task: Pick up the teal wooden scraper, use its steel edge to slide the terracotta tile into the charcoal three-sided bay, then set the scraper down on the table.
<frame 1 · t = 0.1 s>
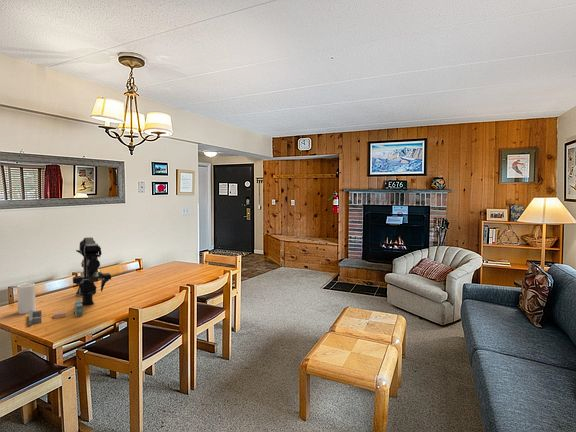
hand: (92, 292, 195), 15 cm above the table, tool pointing down, fingers open, 9 cm apart
stop bay: (37, 319, 191), on the table
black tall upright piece: (87, 293, 240), on the table
cup: (26, 311, 202), on the table
scraper: (78, 313, 203), on the table
tile: (59, 316, 197), on the table
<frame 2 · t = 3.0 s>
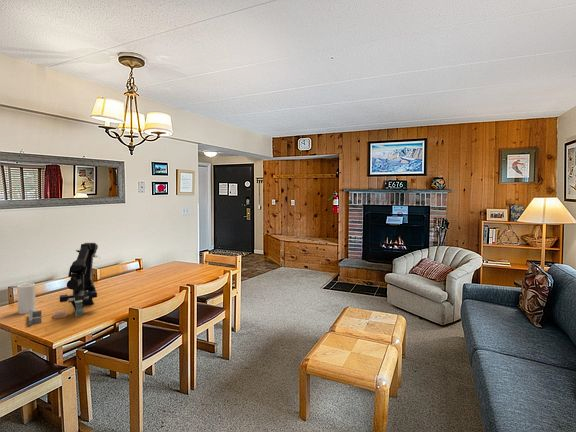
hand: (78, 310, 202), 2 cm above the table, tool pointing down, fingers closed on scraper, 3 cm apart
scraper: (78, 312, 203), on the table, touching gripper
everything else where it was.
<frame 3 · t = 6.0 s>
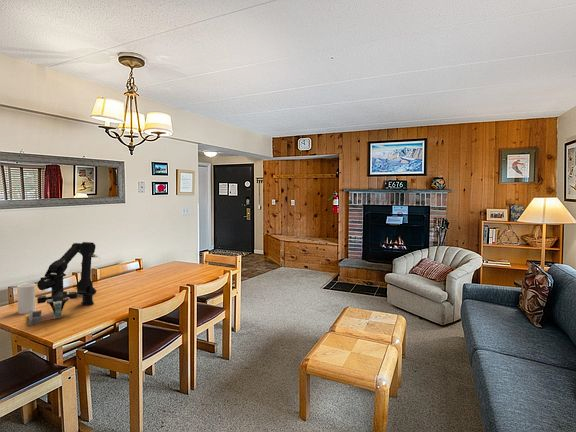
hand: (57, 311, 196), 3 cm above the table, tool pointing down, fingers closed on scraper, 3 cm apart
scraper: (57, 314, 196), point 1 cm above the table, touching gripper
tile: (47, 318, 194), on the table
everything else where it was.
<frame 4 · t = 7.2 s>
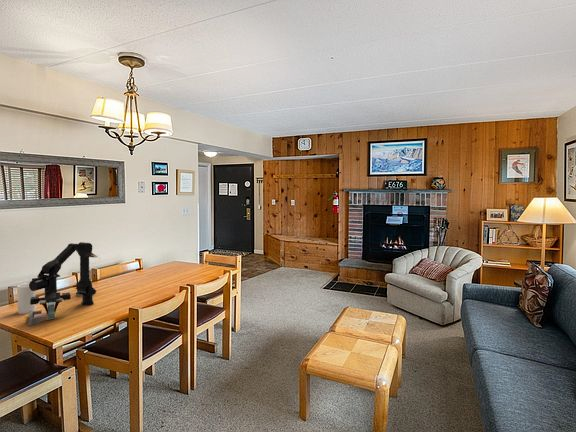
hand: (51, 313, 194), 2 cm above the table, tool pointing down, fingers closed on scraper, 3 cm apart
scraper: (51, 315, 195), point 1 cm above the table, touching gripper
tile: (40, 319, 192), on the table
everything else where it was.
when the fingers open (2 cm above the table, at t = 11.4 s): scraper drops 1 cm, on the table.
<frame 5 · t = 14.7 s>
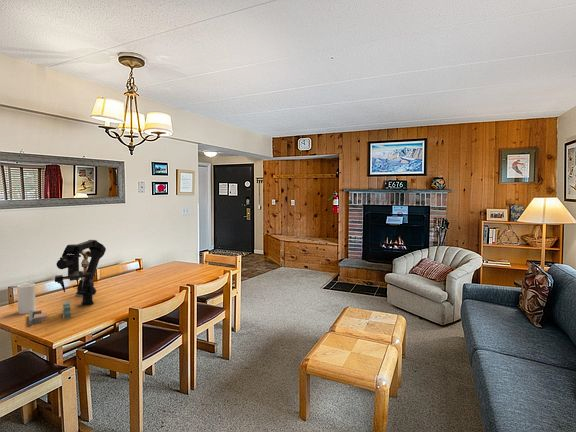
hand: (73, 291, 205), 12 cm above the table, tool pointing down, fingers open, 9 cm apart
scraper: (66, 315, 199), on the table
everything else where it was.
at the end: tile 0.2 cm from the target spot, on the table; tile tilted 0°; the gripper is holding nothing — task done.
